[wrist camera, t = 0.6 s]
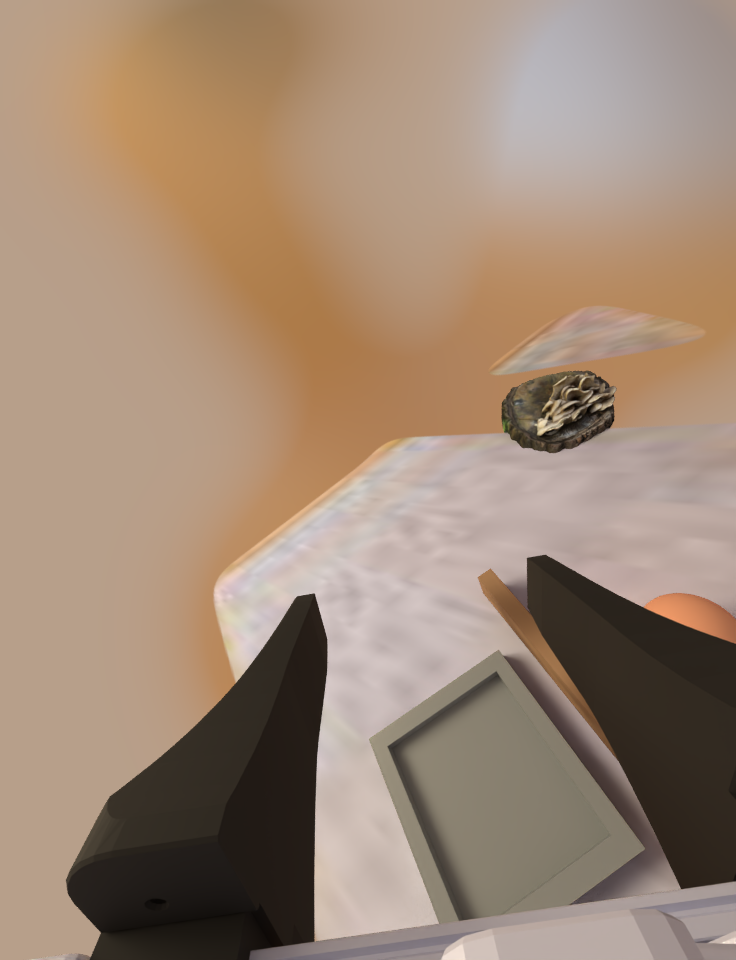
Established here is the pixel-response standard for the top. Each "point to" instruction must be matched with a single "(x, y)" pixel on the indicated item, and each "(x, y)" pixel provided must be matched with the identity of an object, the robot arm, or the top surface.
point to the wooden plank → (536, 644)
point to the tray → (497, 800)
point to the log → (558, 410)
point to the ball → (696, 614)
